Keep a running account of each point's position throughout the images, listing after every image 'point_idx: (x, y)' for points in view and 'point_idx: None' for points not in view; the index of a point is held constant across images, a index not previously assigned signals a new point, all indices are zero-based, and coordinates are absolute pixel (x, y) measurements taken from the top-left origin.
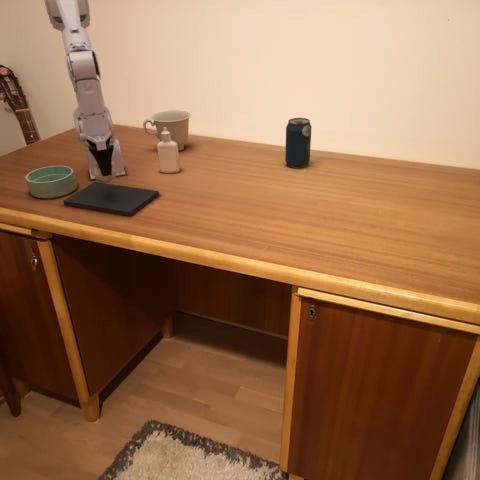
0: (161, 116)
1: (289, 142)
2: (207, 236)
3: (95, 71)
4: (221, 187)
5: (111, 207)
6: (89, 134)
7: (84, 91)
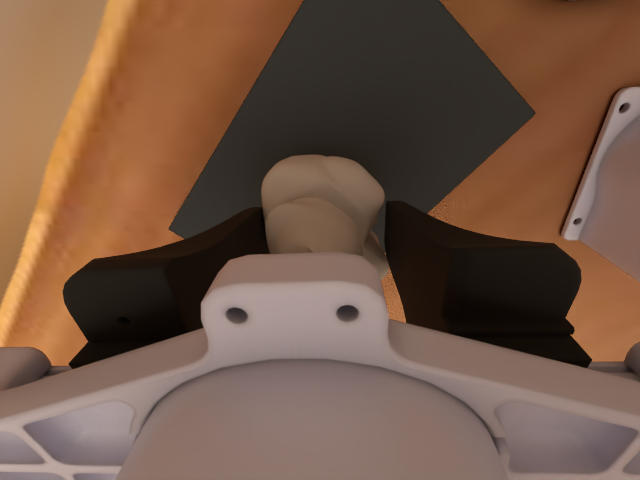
0: None
1: None
2: (64, 354)
3: None
4: None
5: (213, 173)
6: (146, 429)
7: None
